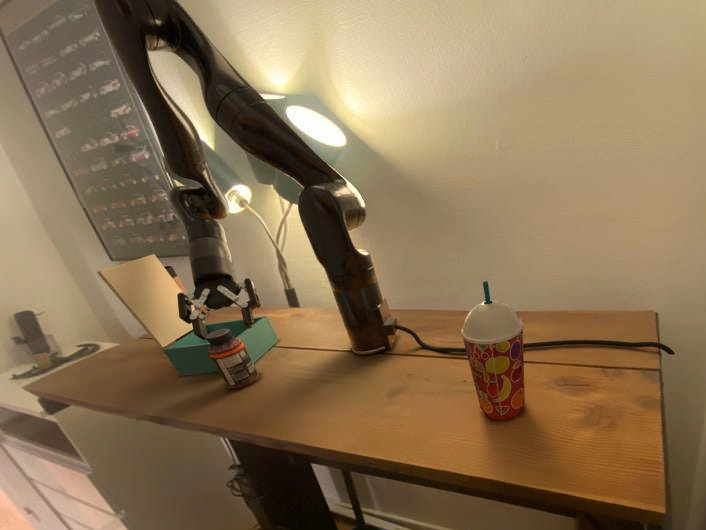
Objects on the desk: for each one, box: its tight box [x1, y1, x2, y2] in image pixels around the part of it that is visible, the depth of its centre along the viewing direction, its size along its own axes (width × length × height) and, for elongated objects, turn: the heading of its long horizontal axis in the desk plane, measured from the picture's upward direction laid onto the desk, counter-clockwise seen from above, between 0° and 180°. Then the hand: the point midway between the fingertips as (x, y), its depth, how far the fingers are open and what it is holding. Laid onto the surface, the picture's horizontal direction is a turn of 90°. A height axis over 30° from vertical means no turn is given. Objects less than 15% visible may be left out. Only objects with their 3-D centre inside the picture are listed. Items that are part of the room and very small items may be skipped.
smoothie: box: [460, 280, 526, 421], centre depth 52 cm, size 8×8×20 cm
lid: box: [96, 253, 205, 349], centre depth 83 cm, size 18×14×5 cm
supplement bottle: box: [206, 329, 259, 390], centre depth 74 cm, size 6×6×11 cm
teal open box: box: [163, 315, 279, 377], centre depth 88 cm, size 17×14×7 cm
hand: (225, 332), depth 76 cm, fingers open, 8 cm apart
